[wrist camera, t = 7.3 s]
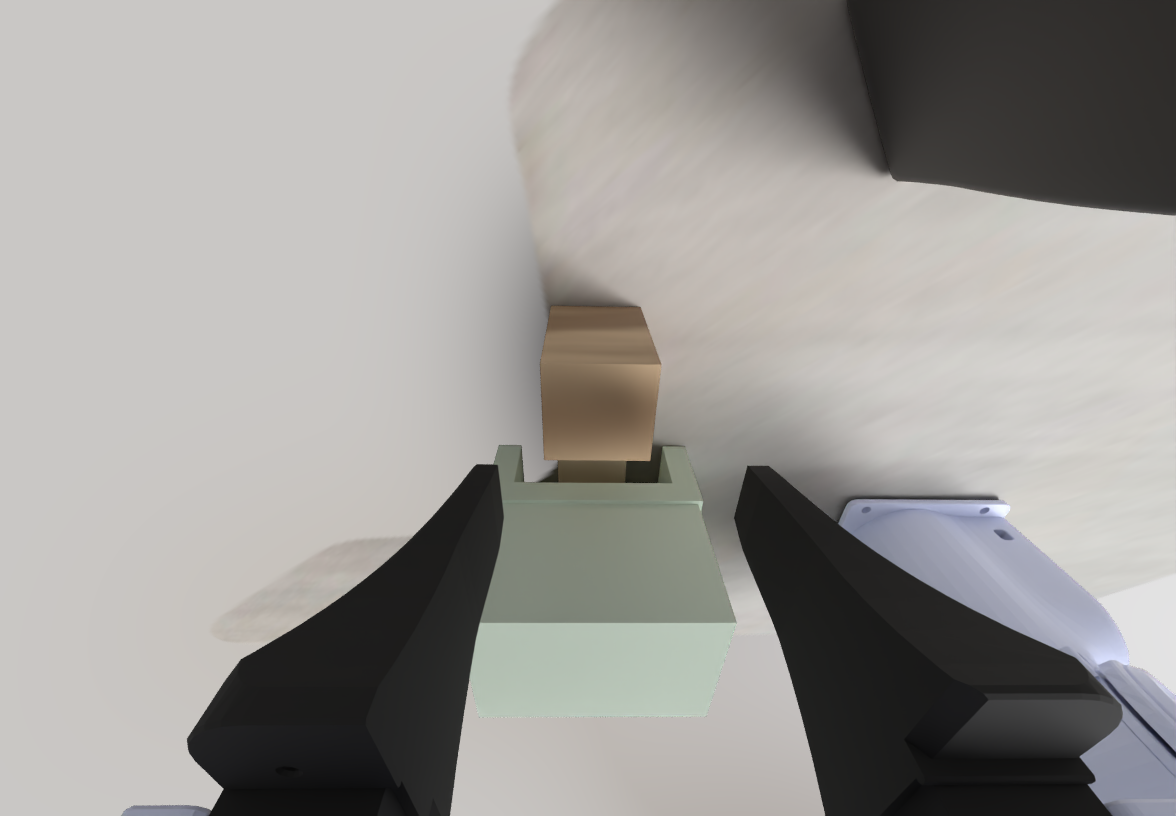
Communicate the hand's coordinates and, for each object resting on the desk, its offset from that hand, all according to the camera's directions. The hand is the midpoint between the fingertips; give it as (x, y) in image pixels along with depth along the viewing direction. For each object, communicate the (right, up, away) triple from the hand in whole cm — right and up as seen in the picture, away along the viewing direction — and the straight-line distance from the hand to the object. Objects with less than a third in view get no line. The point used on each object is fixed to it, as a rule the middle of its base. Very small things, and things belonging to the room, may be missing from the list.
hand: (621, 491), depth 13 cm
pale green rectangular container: (-1, -3, +12) cm, 13 cm away
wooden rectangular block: (-1, +1, +10) cm, 10 cm away
